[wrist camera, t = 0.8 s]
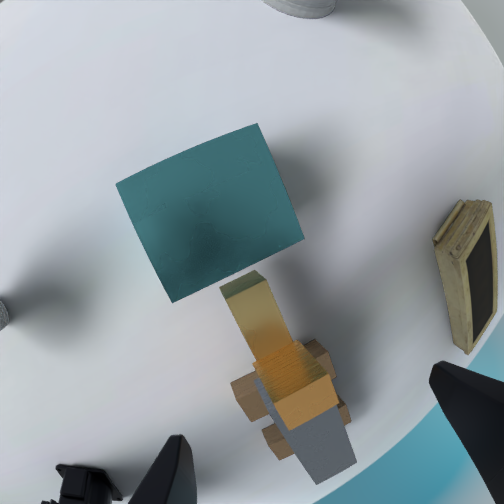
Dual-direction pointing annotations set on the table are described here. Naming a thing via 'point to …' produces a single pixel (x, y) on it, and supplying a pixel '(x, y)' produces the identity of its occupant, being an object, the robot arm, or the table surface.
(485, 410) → the robot arm
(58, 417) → the table surface
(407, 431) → the table surface
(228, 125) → the table surface
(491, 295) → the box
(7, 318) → the light bulb
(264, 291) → the yellow sliding bolt
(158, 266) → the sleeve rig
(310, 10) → the glass holder
